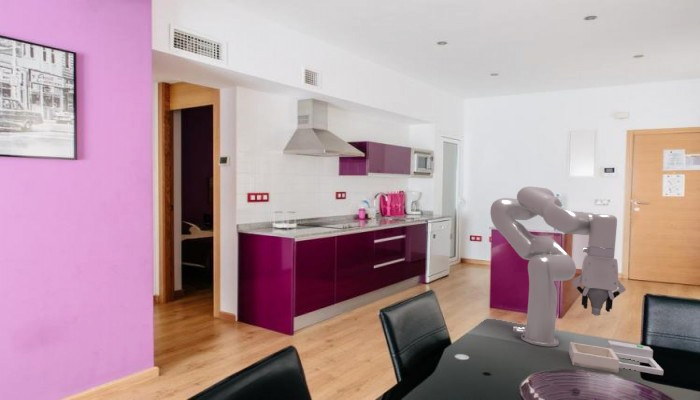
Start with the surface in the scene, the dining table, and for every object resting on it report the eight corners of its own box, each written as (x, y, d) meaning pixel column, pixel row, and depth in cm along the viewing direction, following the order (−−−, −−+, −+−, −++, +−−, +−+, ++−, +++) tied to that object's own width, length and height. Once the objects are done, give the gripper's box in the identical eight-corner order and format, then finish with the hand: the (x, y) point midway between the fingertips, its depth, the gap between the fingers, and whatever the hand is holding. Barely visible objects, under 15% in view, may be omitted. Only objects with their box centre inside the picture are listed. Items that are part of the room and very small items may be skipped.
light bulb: (609, 318, 143) (611, 286, 143) (588, 316, 144) (591, 284, 144) (602, 314, 149) (605, 283, 149) (582, 312, 150) (585, 281, 150)
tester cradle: (616, 367, 144) (617, 352, 144) (606, 351, 160) (607, 338, 160) (663, 375, 140) (664, 360, 140) (648, 358, 156) (649, 344, 156)
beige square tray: (573, 365, 143) (573, 352, 143) (568, 353, 155) (569, 341, 155) (618, 373, 139) (619, 360, 139) (610, 360, 150) (611, 348, 150)
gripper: (572, 250, 146) (567, 307, 146) (634, 257, 140) (629, 316, 140) (569, 249, 153) (565, 303, 153) (629, 255, 147) (624, 311, 147)
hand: (596, 308), depth 147 cm, fingers closed on light bulb, 5 cm apart
